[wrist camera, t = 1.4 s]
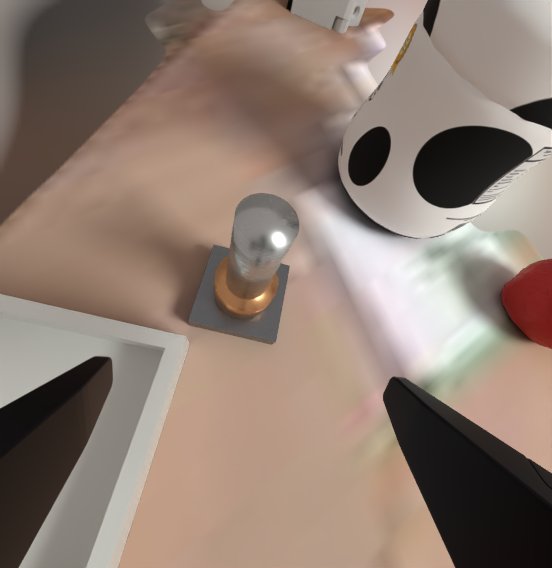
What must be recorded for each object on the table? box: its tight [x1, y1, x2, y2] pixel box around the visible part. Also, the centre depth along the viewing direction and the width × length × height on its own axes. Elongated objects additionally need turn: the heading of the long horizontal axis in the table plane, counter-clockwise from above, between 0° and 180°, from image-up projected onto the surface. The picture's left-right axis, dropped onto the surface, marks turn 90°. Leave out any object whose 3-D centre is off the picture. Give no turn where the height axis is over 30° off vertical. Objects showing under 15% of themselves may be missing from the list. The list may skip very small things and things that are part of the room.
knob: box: [214, 193, 299, 319], centre depth 17 cm, size 5×5×10 cm
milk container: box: [338, 0, 552, 239], centre depth 25 cm, size 17×17×18 cm
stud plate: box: [188, 245, 290, 344], centre depth 22 cm, size 7×7×2 cm
